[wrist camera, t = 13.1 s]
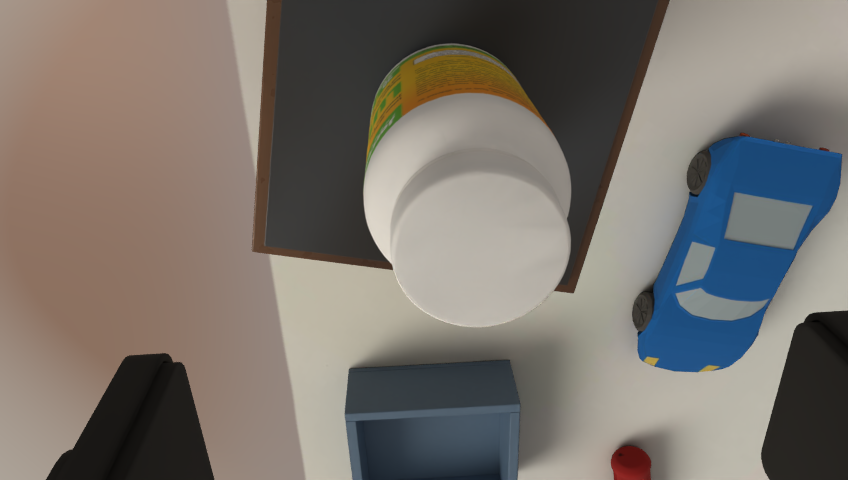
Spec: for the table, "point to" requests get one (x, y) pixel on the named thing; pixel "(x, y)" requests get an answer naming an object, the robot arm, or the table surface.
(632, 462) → the screwdriver
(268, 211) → the stand
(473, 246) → the supplement bottle
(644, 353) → the toy car
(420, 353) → the table surface
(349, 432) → the storage bin
